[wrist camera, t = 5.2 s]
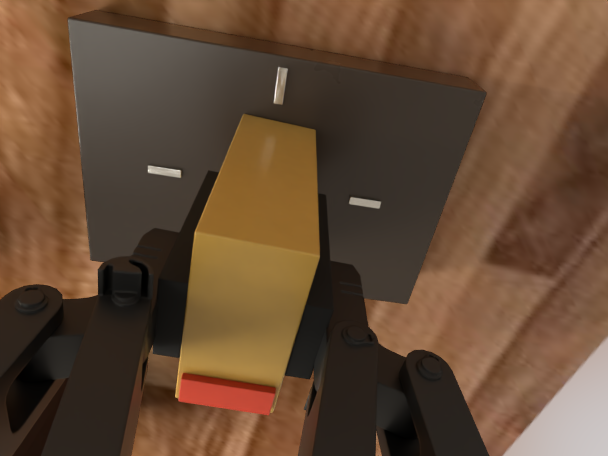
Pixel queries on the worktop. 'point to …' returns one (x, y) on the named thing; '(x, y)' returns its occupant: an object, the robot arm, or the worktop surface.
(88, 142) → the plate
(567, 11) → the worktop surface
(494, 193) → the worktop surface
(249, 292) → the thumbturn
